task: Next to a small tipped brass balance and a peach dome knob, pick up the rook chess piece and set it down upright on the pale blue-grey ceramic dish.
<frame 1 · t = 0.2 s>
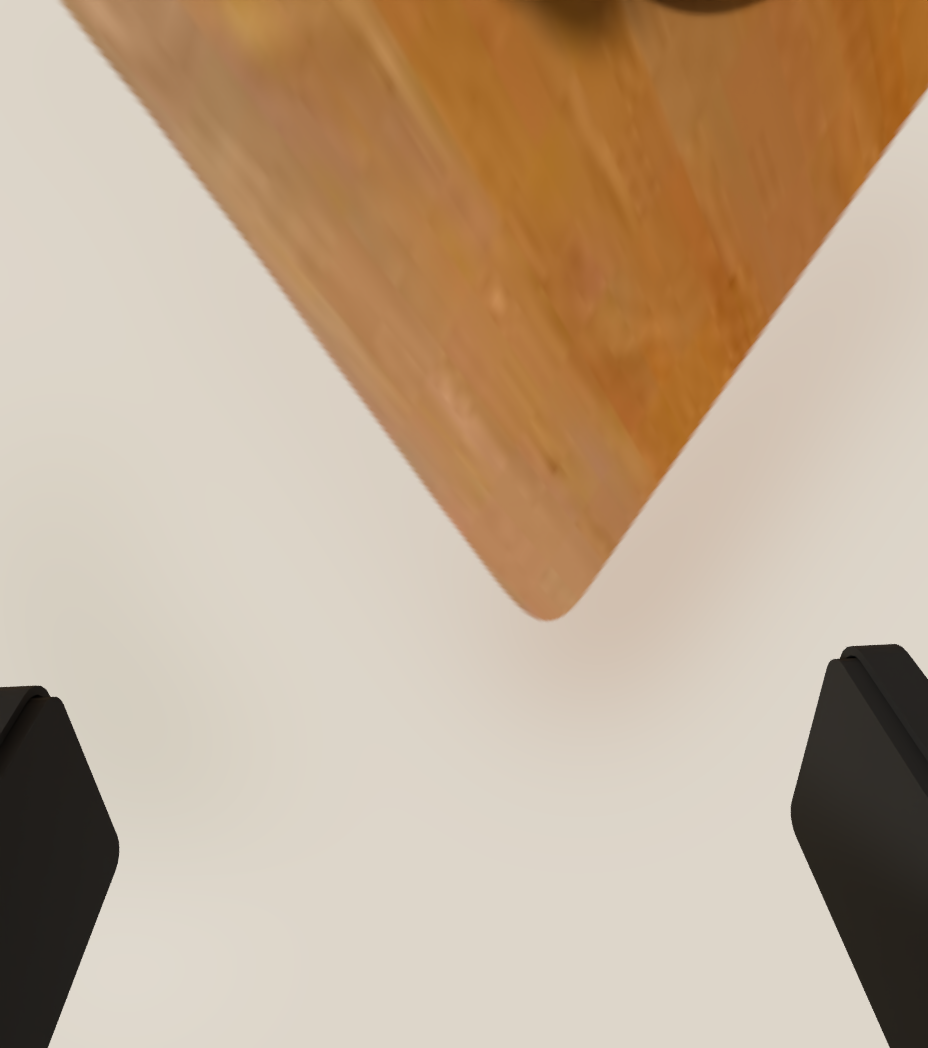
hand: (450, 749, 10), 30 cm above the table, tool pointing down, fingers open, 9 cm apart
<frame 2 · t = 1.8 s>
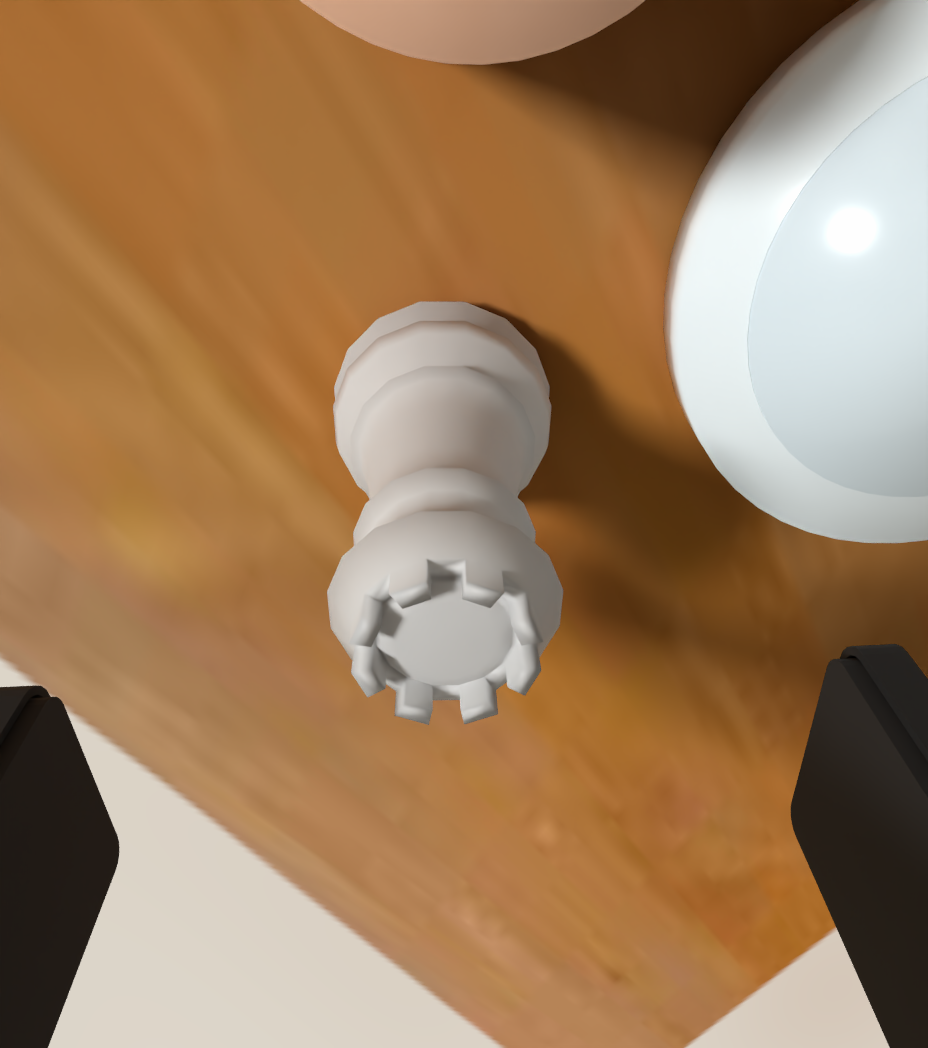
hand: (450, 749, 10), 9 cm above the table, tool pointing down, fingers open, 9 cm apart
rook chess piece: (442, 392, 17), on the table
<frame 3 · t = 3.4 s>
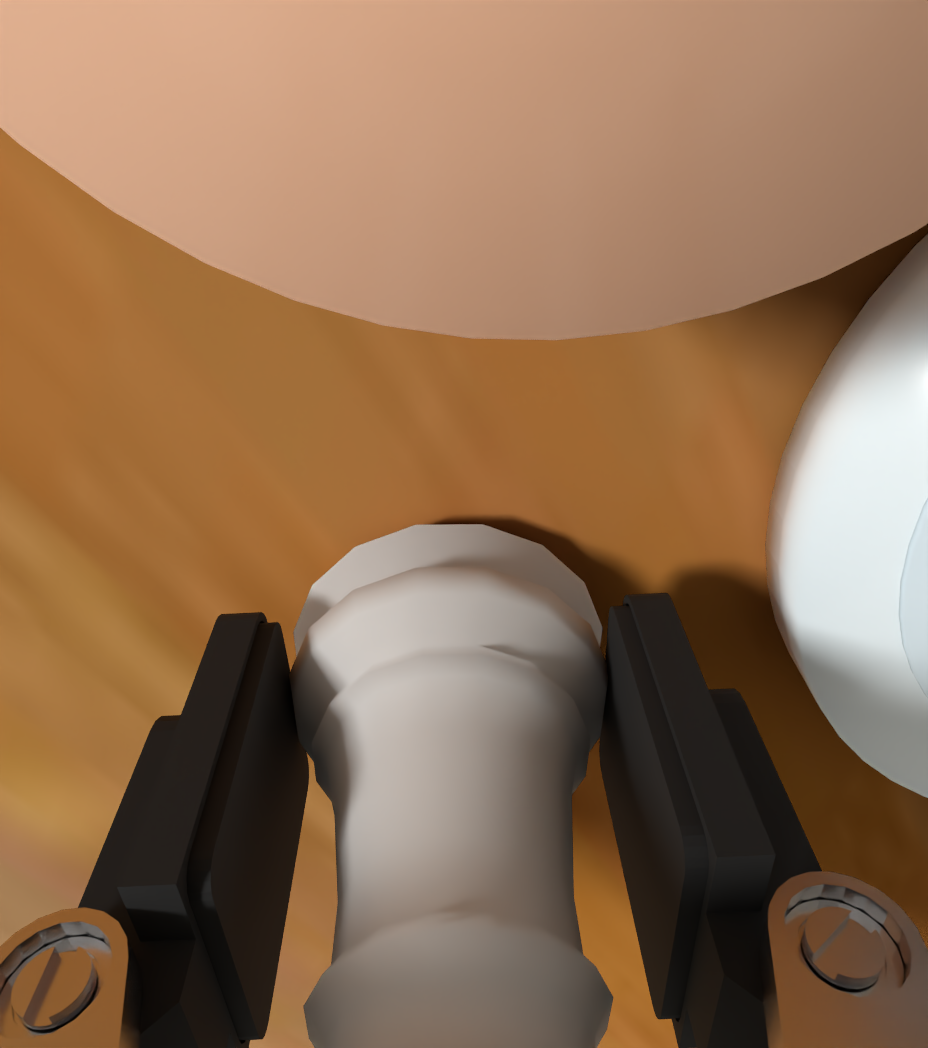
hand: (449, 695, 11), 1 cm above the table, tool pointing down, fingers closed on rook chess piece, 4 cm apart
rook chess piece: (448, 623, 12), on the table, touching gripper
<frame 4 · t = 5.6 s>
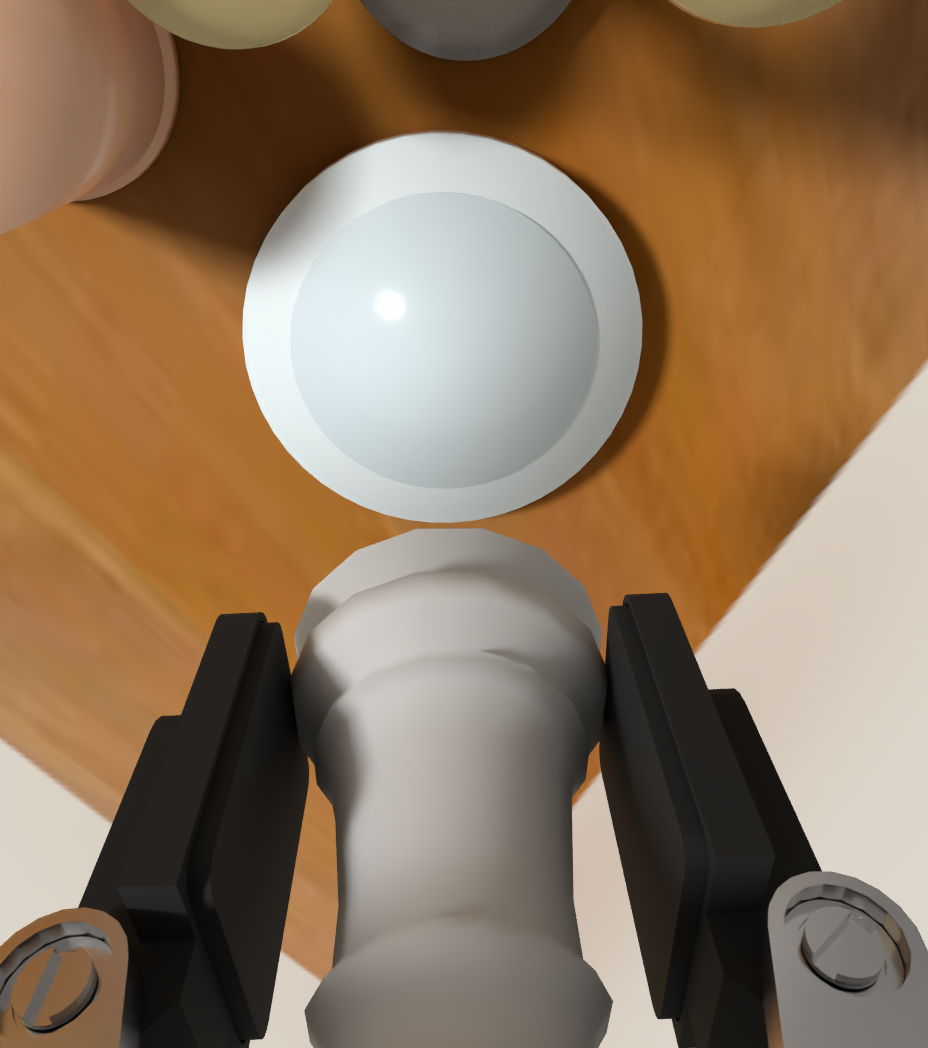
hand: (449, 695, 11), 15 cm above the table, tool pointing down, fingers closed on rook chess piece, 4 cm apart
dish: (443, 339, 23), on the table
peach dome knob: (44, 56, 19), on the table
rook chess piece: (448, 626, 12), point 13 cm above the table, touching gripper
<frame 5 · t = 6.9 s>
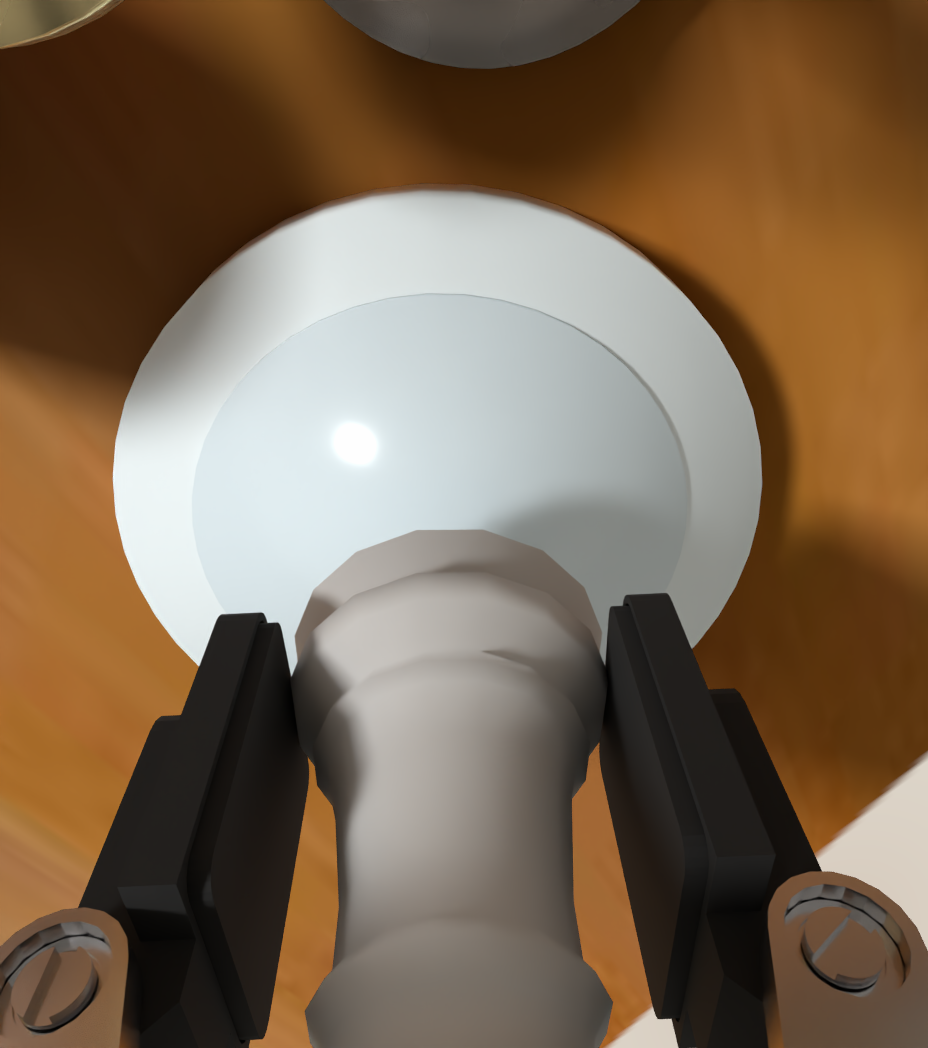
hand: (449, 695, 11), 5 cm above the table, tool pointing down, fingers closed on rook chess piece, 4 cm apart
dish: (441, 500, 15), on the table
rook chess piece: (448, 627, 12), point 3 cm above the table, touching gripper
when the fingers open (3 cm above the table, at t = 7.9 s): rook chess piece stays where it is, resting on dish.
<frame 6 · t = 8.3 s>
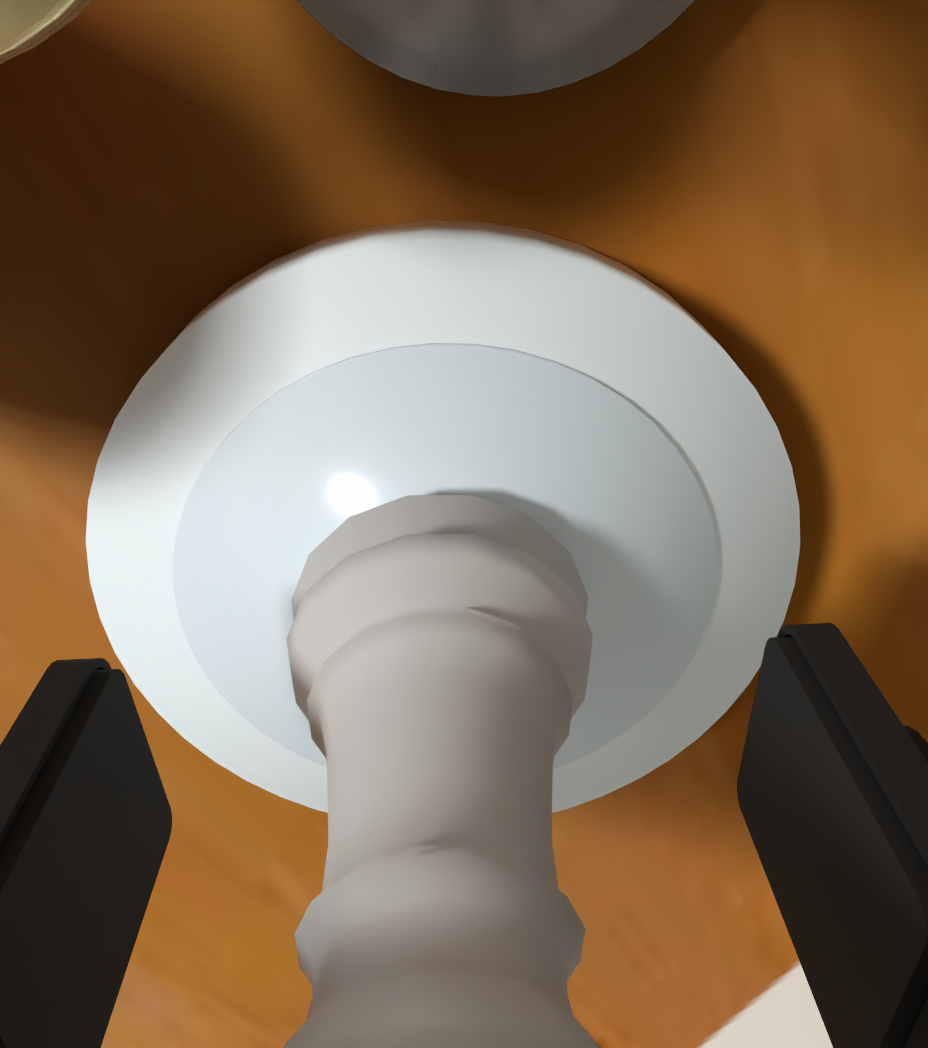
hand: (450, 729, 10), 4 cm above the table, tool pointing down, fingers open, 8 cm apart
dish: (447, 557, 14), on the table
rook chess piece: (440, 594, 13), point 1 cm above the table, touching dish
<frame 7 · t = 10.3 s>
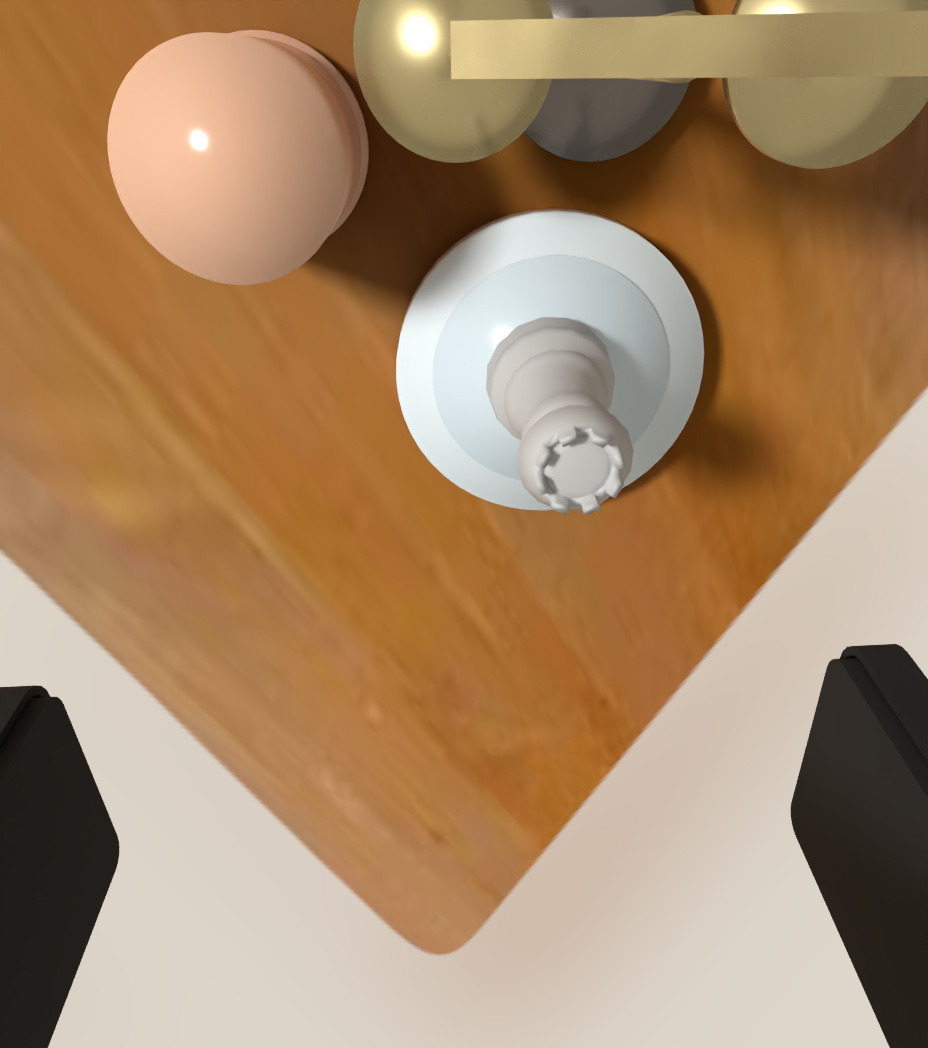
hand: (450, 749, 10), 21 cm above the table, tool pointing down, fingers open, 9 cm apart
dish: (546, 365, 30), on the table
balance: (591, 52, 25), on the table
peach dome knob: (270, 146, 26), on the table
rook chess piece: (546, 372, 29), point 1 cm above the table, touching dish
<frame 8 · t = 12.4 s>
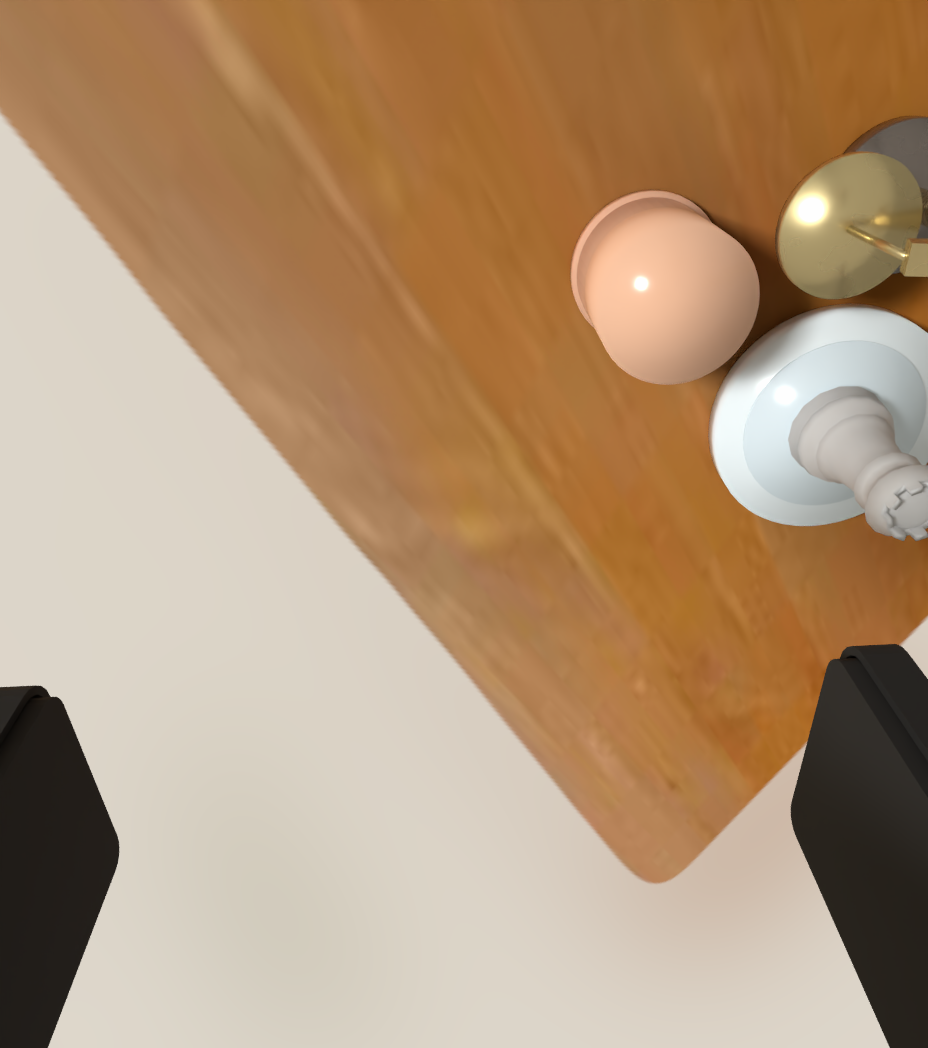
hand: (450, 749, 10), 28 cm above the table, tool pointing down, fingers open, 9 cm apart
dish: (822, 416, 39), on the table
balance: (892, 195, 34), on the table
peach dome knob: (643, 267, 35), on the table
rook chess piece: (830, 424, 38), point 1 cm above the table, touching dish
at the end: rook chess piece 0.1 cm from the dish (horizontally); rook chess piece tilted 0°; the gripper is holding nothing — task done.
